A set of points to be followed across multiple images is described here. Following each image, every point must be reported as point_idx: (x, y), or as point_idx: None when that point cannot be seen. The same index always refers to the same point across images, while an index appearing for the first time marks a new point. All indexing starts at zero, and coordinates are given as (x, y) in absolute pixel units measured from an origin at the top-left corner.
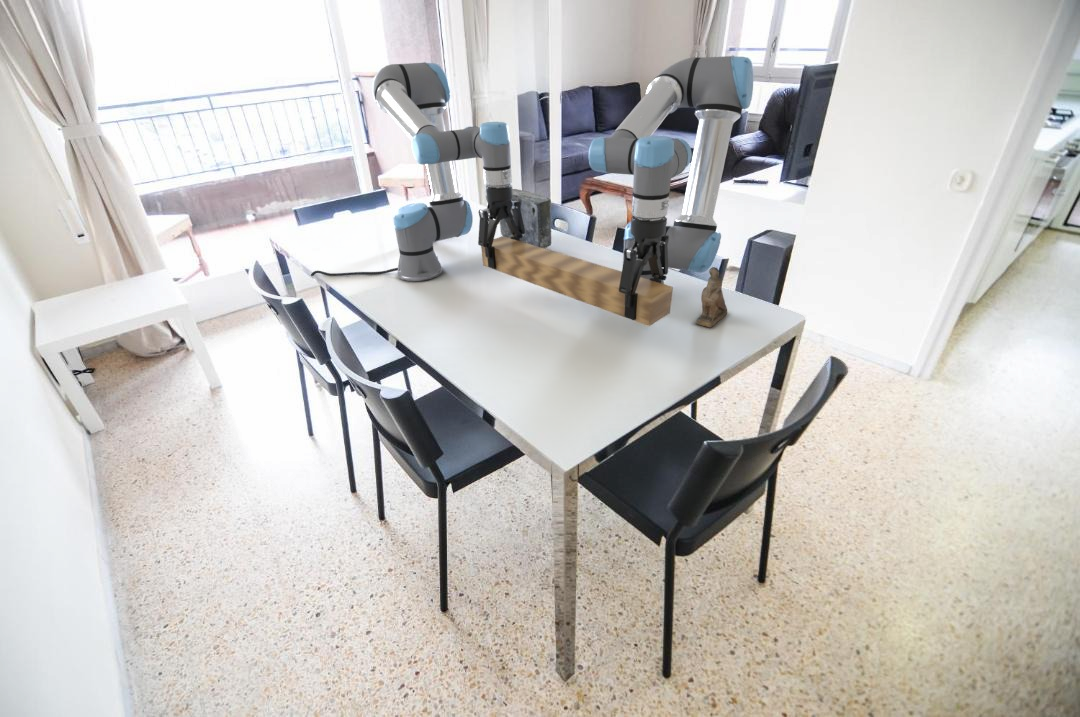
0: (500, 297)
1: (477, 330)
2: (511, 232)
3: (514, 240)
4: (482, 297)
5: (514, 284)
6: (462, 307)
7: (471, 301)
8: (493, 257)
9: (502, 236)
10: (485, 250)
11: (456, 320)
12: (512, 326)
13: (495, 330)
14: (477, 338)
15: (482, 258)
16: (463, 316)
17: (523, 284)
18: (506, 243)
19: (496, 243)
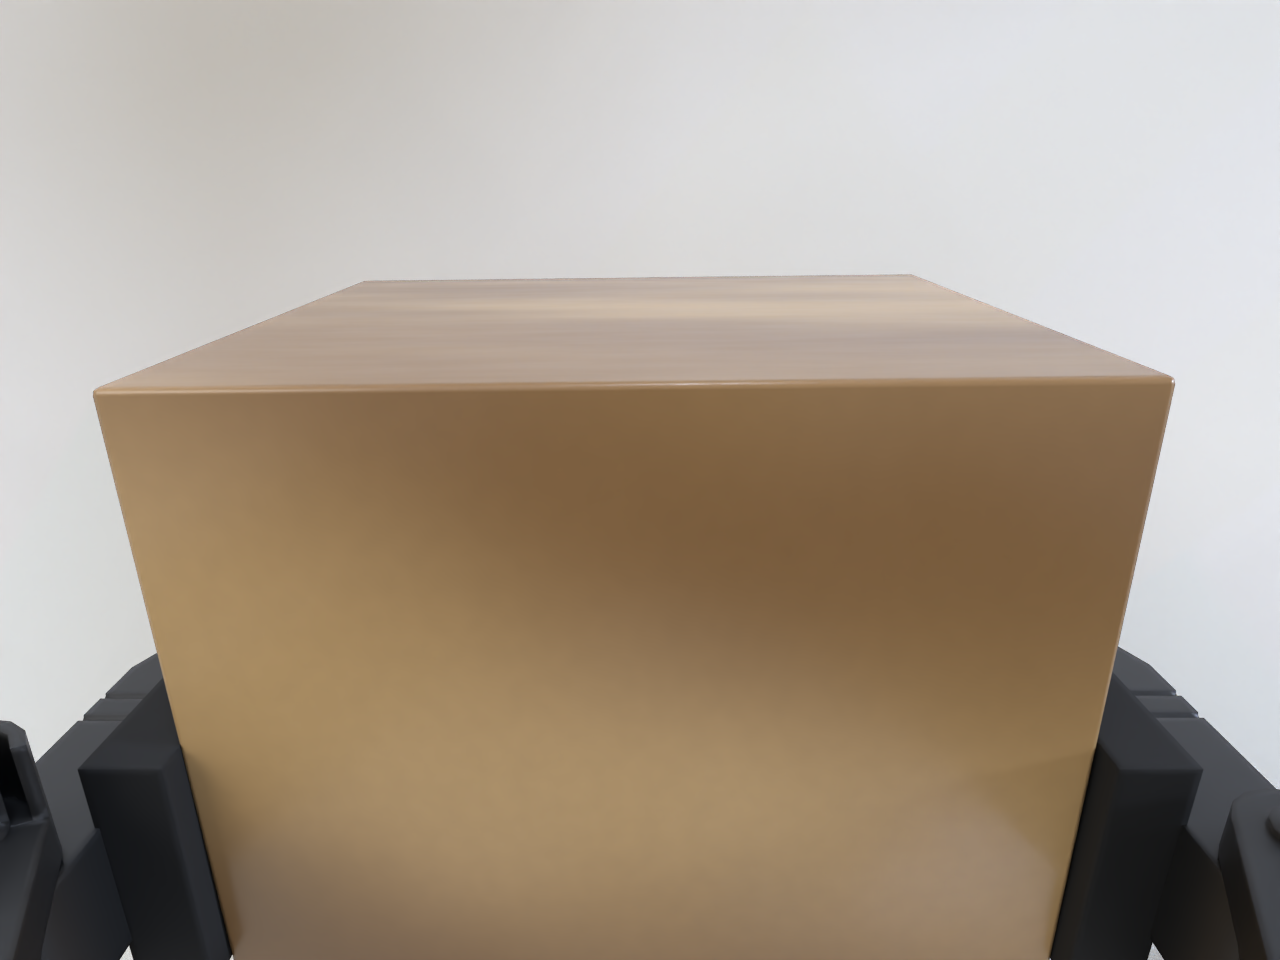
0: (657, 264)
1: (107, 622)
2: (1249, 941)
3: (1000, 938)
4: (520, 101)
5: (1018, 101)
6: (209, 144)
7: (366, 90)
8: None
9: (1133, 408)
10: (46, 775)
11: (29, 348)
12: None
13: None
14: (49, 711)
15: (309, 304)
16: (123, 330)
17: (1075, 189)
18: (681, 947)
19: (484, 769)
